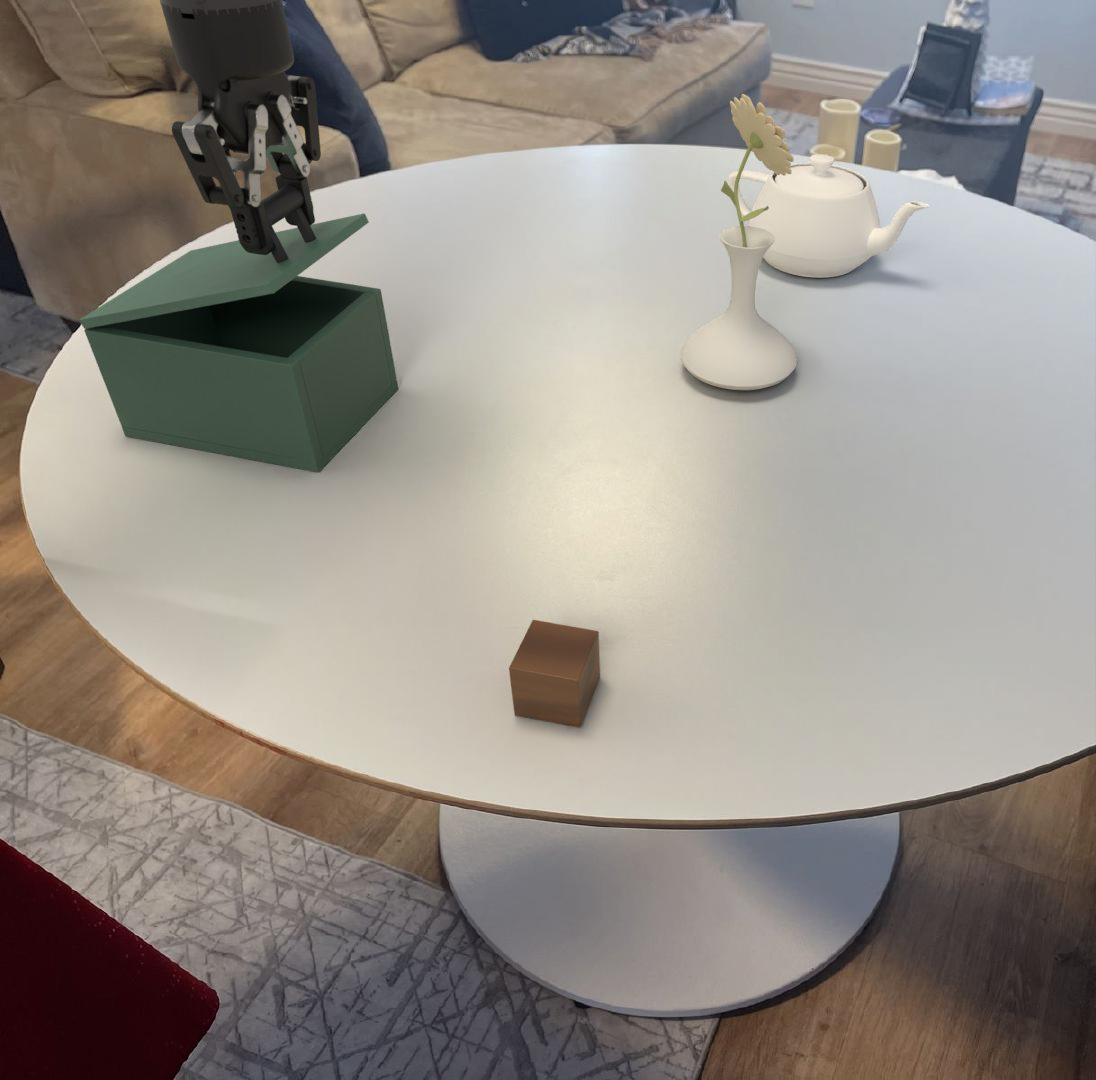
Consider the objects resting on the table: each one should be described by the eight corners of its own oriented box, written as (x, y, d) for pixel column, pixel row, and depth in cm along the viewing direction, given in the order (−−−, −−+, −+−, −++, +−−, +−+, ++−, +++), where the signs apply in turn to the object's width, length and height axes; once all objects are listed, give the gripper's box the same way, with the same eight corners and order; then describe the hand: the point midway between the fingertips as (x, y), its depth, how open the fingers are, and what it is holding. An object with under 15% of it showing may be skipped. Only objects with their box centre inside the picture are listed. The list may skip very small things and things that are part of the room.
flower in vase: (807, 398, 95) (841, 127, 79) (689, 405, 93) (699, 128, 77) (776, 333, 105) (801, 81, 89) (669, 338, 103) (674, 80, 87)
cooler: (398, 388, 93) (381, 288, 87) (318, 472, 82) (291, 365, 76) (224, 358, 95) (194, 259, 89) (125, 436, 85) (83, 329, 78)
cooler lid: (369, 222, 83) (340, 160, 80) (273, 293, 72) (236, 225, 69) (195, 258, 89) (163, 202, 86) (84, 329, 78) (43, 268, 76)
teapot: (694, 258, 119) (697, 153, 111) (754, 217, 129) (761, 119, 122) (890, 313, 110) (909, 204, 102) (937, 264, 121) (957, 162, 113)
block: (580, 728, 63) (578, 680, 60) (514, 715, 63) (508, 667, 61) (600, 677, 66) (598, 630, 64) (537, 666, 67) (532, 619, 64)
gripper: (234, -31, 73) (289, 200, 83) (95, 8, 62) (178, 268, 72) (328, -22, 72) (371, 211, 82) (203, 19, 61) (271, 282, 71)
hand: (280, 237), depth 77 cm, fingers closed on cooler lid, 5 cm apart
